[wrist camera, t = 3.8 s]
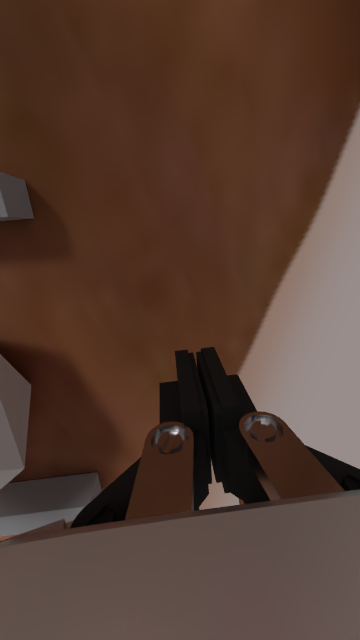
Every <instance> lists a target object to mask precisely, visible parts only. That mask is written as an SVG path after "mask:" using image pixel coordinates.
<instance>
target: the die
mask: <svg viewBox="0 0 360 640" xmlns="http://www.w3.org/2000/svg"><path fill="white" fill-rule="evenodd" d="M30 397H31V384H30V383H29V382H28V381H27V380H26V379H25V378H24V377H23V376H22V375H21V374H20V373H19V372H18V371H17V370H16V369H15V368H14V367H13V366H12V365H11V364H10V363H9V362H8V361H7V360H6V359H5V358H4V357H3V356H2V355H1V354H0V489H2V488H3V487H4V486H5V485H6V484H7V483H9V482H10V481H11V480H12V479H13V478H14V477H15V476H17V475H18V474H19V473H20V472H21V471H22V470H24V468H25V456H26V444H27V433H28V421H29V409H30Z"/></svg>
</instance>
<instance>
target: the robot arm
mask: <svg viewBox="0 0 360 640" xmlns="http://www.w3.org/2000/svg"><path fill="white" fill-rule="evenodd" d="M196 355H197V366H196V363H195V359H194V355H193V353H188V350H180V351H175V357H176V368H177V378H178V381H173V382H164V383H160V424H159V425H157V426H156V427H154V428H153V429H152V430H151V431H150V432H149V433H148V435H147V437H146V440H145V444H144V448H143V452H142V455H141V458H139V459H138V460H137V461H136V462H135V463H134V464H133V465H132V466H130V467H129V468H128V469H127V470H126V471H125V472H124V473H123V474H121V475H120V476H119V477H118V478H117V479H116V480H115V481H114V482H112V483H111V484H110V485H109V486H108V487H107V488H106V489H104V490H103V491H102V492H101V493H100V494H99V495H98V496H97V497H95V498H94V499H93V500H92V501H91V502H90V503H89V504H88V505H86V506H85V507H84V508H83V509H82V510H81V511H80V513H79V514H78V515H77V516H76V518H75V519H74V520H72V521H70V522H67V523H66V522H65V519H61V520H59V521H56V522H53V523H50V524H47V525H44V526H42V527H39V528H36V529H33V530H30V531H28V532H25V533H22V534H19V535H16V536H14V537H11V538H8V539H5V540H2V541H0V640H360V469H358V468H356V467H353V466H351V465H349V464H346V463H344V462H342V461H339V460H337V459H335V458H333V457H331V456H328V455H326V454H324V453H322V452H319V451H317V450H315V449H313V448H310V447H308V446H306V445H304V444H303V443H302V442H301V440H300V439H299V438H298V437H297V436H296V435H295V433H294V432H293V431H292V430H291V429H290V428H289V427H288V425H287V424H286V423H285V422H284V421H283V420H281V419H280V418H279V417H277V416H275V415H273V414H270V413H267V412H257V410H256V408H255V406H254V405H253V403H252V401H251V399H250V397H249V395H248V393H247V392H246V390H245V388H244V386H243V384H242V382H241V380H240V378H239V376H238V375H228V376H227V375H226V373H225V370H224V368H223V366H222V364H221V362H220V359H219V357H218V355H217V353H216V351H215V348H214V347H209V348H201V352H197V353H196ZM211 461H212V465H213V470H214V474H215V479H216V482H217V483H219V482H222V484H223V488H224V492H225V493H230V492H231V493H232V494H233V495H235V496H236V497H238V498H239V503H240V505H234V506H227V507H220V508H212V509H205V510H199V506H200V505H201V504H202V502H203V501H204V500H205V498H206V497H207V496H208V494H209V489H208V484H211V483H212V475H211Z"/></svg>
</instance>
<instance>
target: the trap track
mask: <svg viewBox="0 0 360 640" xmlns="http://www.w3.org/2000/svg"><path fill="white" fill-rule="evenodd" d="M21 219H34V215H33V211H32V207H31V203H30V199H29V195H28V191H27V187H26V183H25V180H23V179H20V178H17V177H14V176H11V175H8V174H5V173H3V172H0V221H9V220H21ZM101 490H102V489H101V485H100V481H99V477H98V473H97V472H95V473H87V474H79V475H70V476H62V477H54V478H46V479H38V480H30V481H22V482H13V483H7V484H6V485H5V486H4V487H3V488H2V489H0V537H1V536H9V535H16V534H22V533H25V532H28V531H30V530H33V529H36V528H39V527H42V526H44V525H47V524H50V523H53V522H56V521H59V520H61V519H65V522H66V523H67V522H70V521H72V520H74V519H75V518H76V516H77V515H78V514H79V513H80V511H81V510H82V509H83V508H84V507H85V506H86V505H88V504H89V503H90V502H91V501H92V500H93V499H94V498H95V497H97V496H98V495H99V494H100V493H101Z"/></svg>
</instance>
